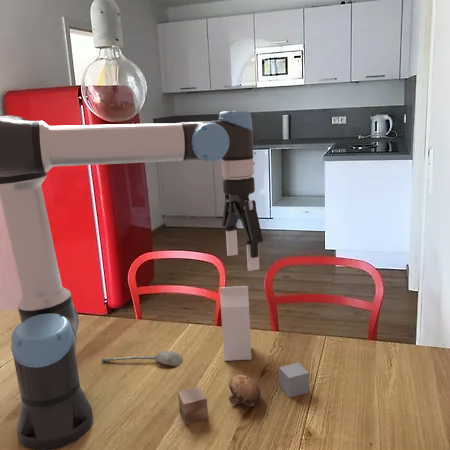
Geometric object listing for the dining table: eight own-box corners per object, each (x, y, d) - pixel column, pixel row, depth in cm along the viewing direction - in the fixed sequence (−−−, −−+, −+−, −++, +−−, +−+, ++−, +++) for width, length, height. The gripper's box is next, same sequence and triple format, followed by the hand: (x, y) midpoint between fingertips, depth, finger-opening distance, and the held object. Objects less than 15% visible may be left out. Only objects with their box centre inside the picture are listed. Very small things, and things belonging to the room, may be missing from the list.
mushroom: (214, 393, 106) (230, 371, 106) (230, 388, 113) (246, 367, 113) (240, 420, 103) (257, 397, 102) (255, 413, 110) (271, 391, 109)
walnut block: (185, 425, 101) (183, 404, 100) (179, 412, 106) (177, 391, 105) (208, 419, 103) (206, 398, 102) (201, 406, 108) (200, 386, 106)
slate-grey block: (289, 398, 109) (288, 378, 108) (279, 386, 113) (279, 367, 112) (309, 392, 110) (309, 372, 109) (299, 381, 115) (298, 362, 114)
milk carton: (251, 360, 126) (248, 291, 121) (224, 361, 126) (219, 292, 122) (250, 347, 133) (247, 281, 128) (224, 348, 133) (220, 282, 129)
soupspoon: (181, 371, 124) (186, 360, 131) (181, 359, 124) (185, 348, 130) (98, 369, 127) (107, 357, 133) (97, 357, 126) (106, 346, 132)
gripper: (275, 181, 106) (278, 274, 111) (233, 170, 129) (237, 247, 134) (244, 185, 103) (248, 279, 108) (207, 173, 126) (211, 251, 131)
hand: (242, 262), depth 121 cm, fingers open, 13 cm apart
